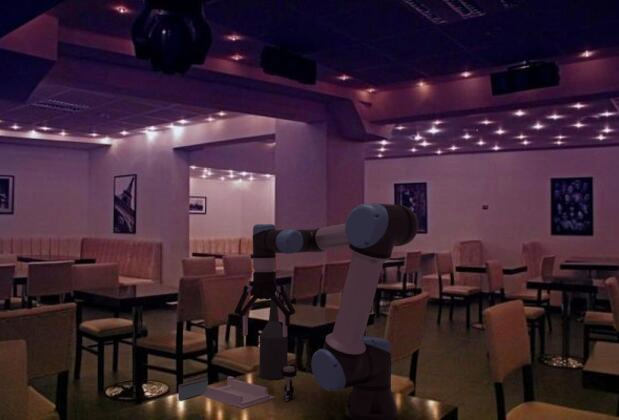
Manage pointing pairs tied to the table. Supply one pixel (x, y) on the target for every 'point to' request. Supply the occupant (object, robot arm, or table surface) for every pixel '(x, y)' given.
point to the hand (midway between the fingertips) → (265, 335)
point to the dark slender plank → (192, 388)
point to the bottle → (273, 347)
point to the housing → (238, 393)
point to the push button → (288, 381)
